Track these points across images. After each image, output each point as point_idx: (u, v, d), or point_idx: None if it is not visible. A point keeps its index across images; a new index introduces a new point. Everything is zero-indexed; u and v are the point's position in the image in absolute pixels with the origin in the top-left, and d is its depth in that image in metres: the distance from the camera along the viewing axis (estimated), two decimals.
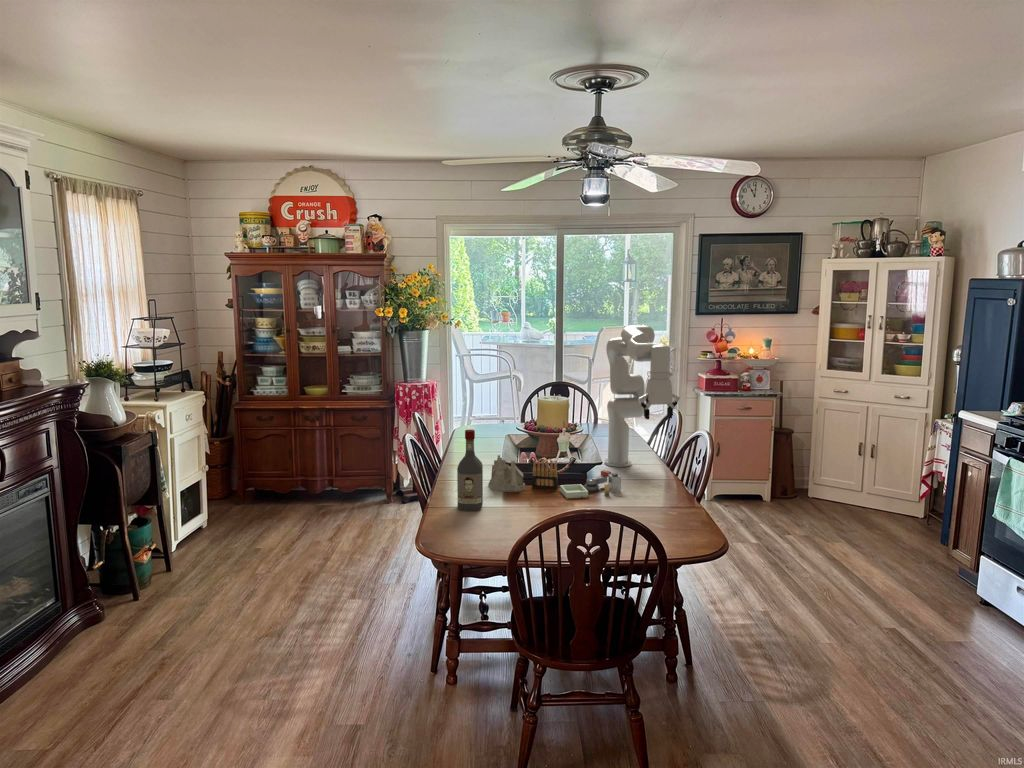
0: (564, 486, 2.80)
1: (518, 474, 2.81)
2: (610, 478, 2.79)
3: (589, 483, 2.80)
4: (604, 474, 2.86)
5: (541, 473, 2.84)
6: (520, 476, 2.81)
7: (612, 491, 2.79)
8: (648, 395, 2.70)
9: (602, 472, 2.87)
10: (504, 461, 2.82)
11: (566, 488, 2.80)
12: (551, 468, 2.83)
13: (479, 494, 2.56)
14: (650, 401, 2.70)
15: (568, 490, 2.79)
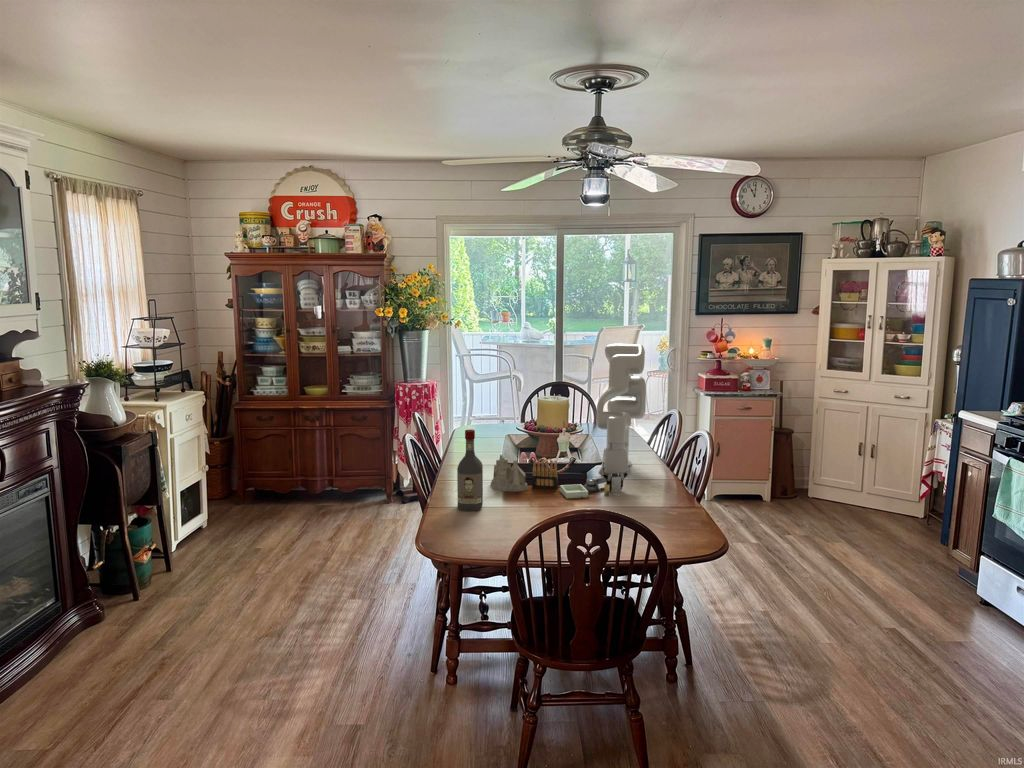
0: (564, 486, 2.80)
1: (520, 474, 2.81)
2: None
3: (589, 483, 2.80)
4: None
5: (541, 473, 2.84)
6: (522, 476, 2.82)
7: (612, 491, 2.79)
8: (604, 465, 2.77)
9: None
10: (506, 461, 2.82)
11: (566, 488, 2.80)
12: (551, 468, 2.83)
13: (479, 494, 2.56)
14: (606, 470, 2.77)
15: (568, 490, 2.79)
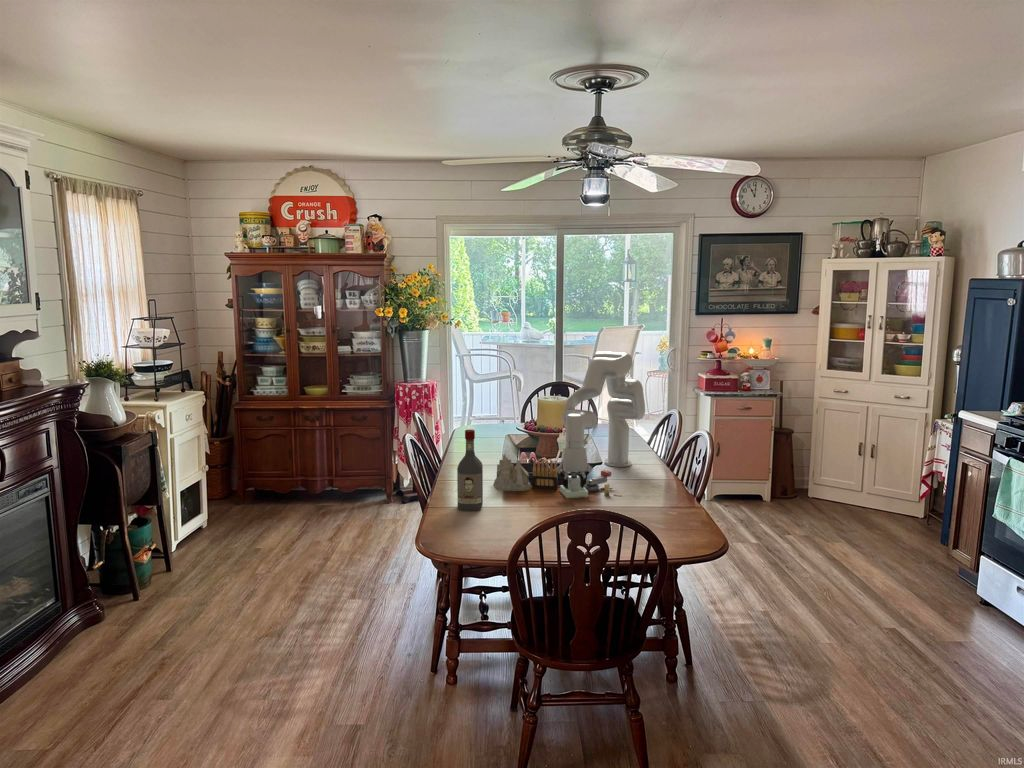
0: None
1: (524, 473, 2.82)
2: (569, 479, 2.75)
3: (589, 483, 2.80)
4: (604, 474, 2.86)
5: (541, 473, 2.84)
6: (526, 475, 2.82)
7: None
8: (563, 463, 2.73)
9: (602, 472, 2.87)
10: (509, 460, 2.83)
11: None
12: (551, 468, 2.83)
13: (479, 494, 2.56)
14: (565, 469, 2.72)
15: None
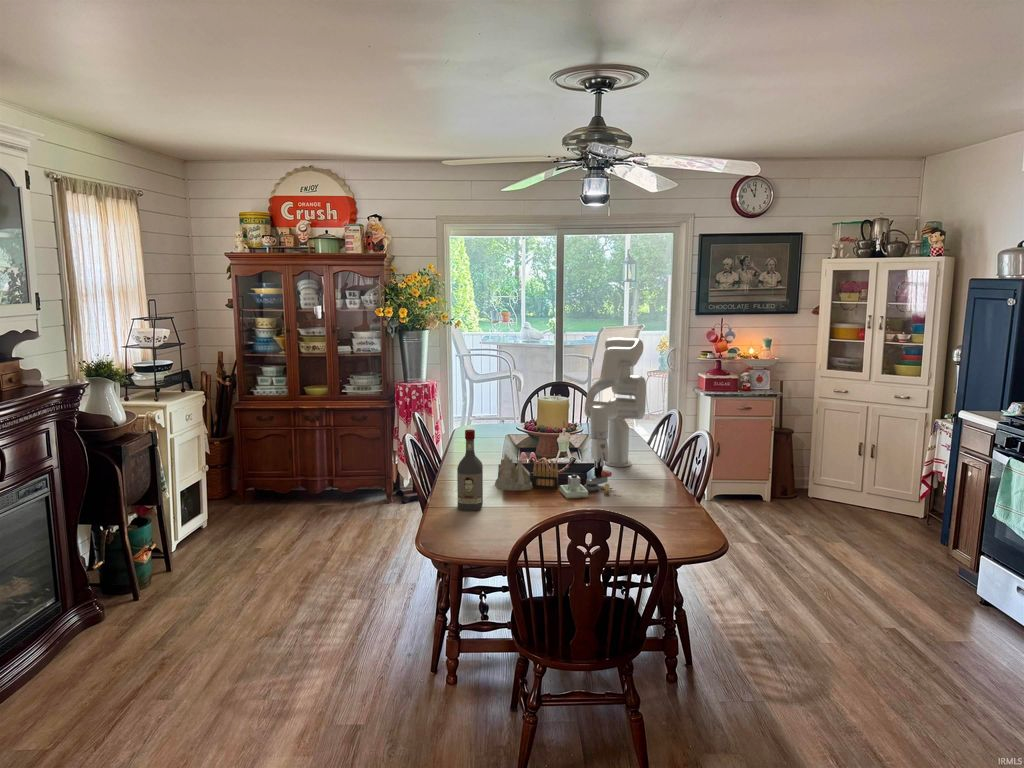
0: (564, 486, 2.80)
1: (525, 473, 2.83)
2: (569, 479, 2.75)
3: (589, 483, 2.80)
4: (604, 474, 2.86)
5: (542, 473, 2.84)
6: (527, 475, 2.83)
7: None
8: None
9: (603, 472, 2.87)
10: (511, 460, 2.83)
11: (566, 488, 2.80)
12: (552, 468, 2.83)
13: (479, 494, 2.56)
14: (591, 454, 2.92)
15: None
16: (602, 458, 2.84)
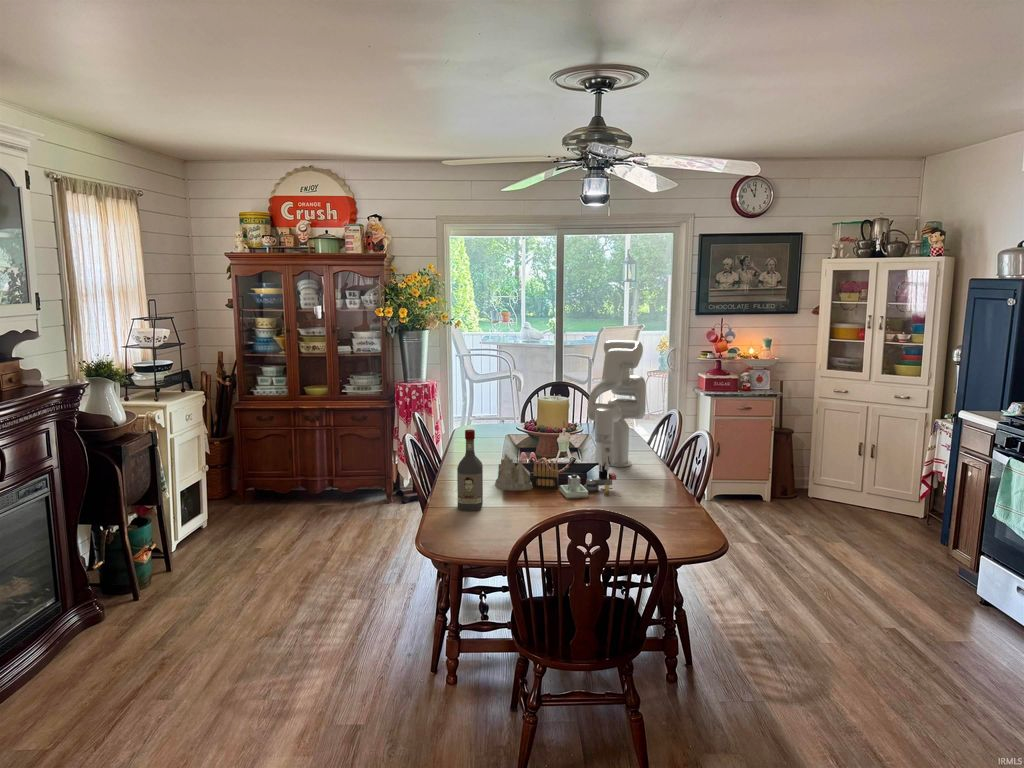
0: (564, 486, 2.80)
1: (525, 473, 2.83)
2: (569, 479, 2.75)
3: (587, 482, 2.80)
4: (610, 477, 2.82)
5: (542, 473, 2.84)
6: (527, 475, 2.83)
7: None
8: None
9: (609, 474, 2.83)
10: (511, 460, 2.83)
11: (566, 488, 2.80)
12: (552, 468, 2.83)
13: (479, 494, 2.56)
14: None
15: None
16: (607, 462, 2.79)
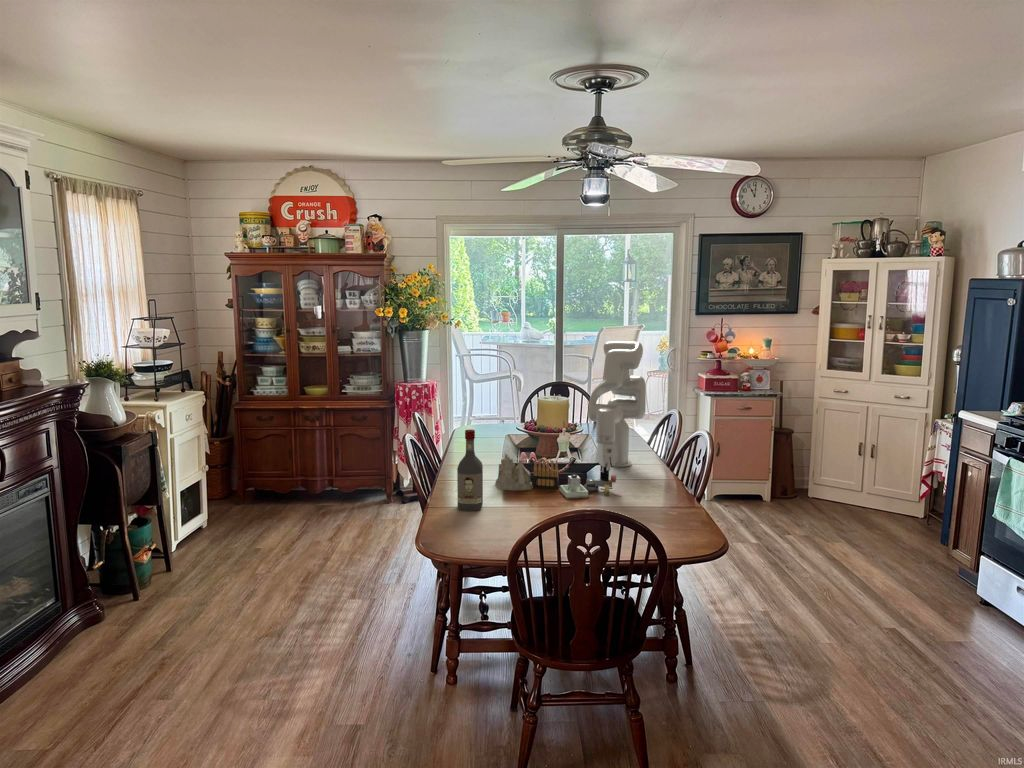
0: (564, 486, 2.80)
1: (525, 473, 2.83)
2: (569, 479, 2.75)
3: None
4: (611, 479, 2.79)
5: (542, 473, 2.84)
6: (527, 475, 2.83)
7: None
8: None
9: (611, 477, 2.80)
10: (511, 460, 2.83)
11: (566, 488, 2.80)
12: (552, 468, 2.83)
13: (479, 494, 2.56)
14: None
15: None
16: (608, 463, 2.77)
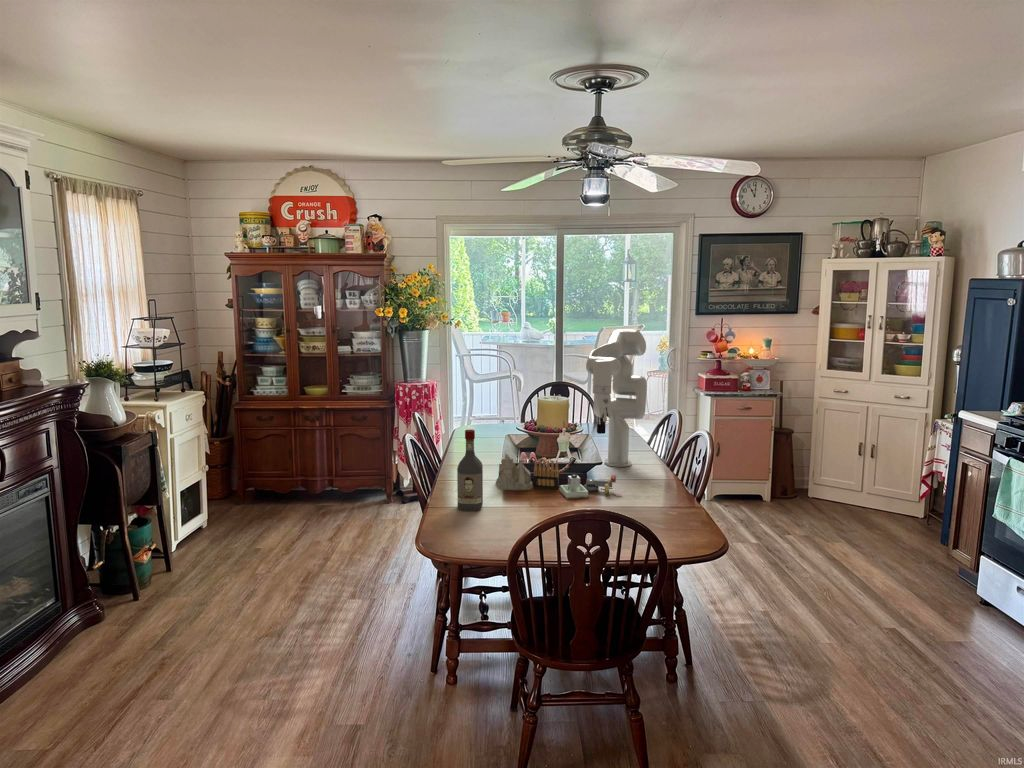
0: (564, 486, 2.80)
1: (526, 473, 2.83)
2: (569, 479, 2.75)
3: None
4: (611, 479, 2.79)
5: (542, 473, 2.84)
6: (528, 475, 2.83)
7: None
8: None
9: (611, 477, 2.80)
10: (512, 460, 2.84)
11: (566, 488, 2.80)
12: (552, 468, 2.83)
13: (479, 494, 2.56)
14: (593, 411, 2.86)
15: None
16: (605, 413, 2.77)
